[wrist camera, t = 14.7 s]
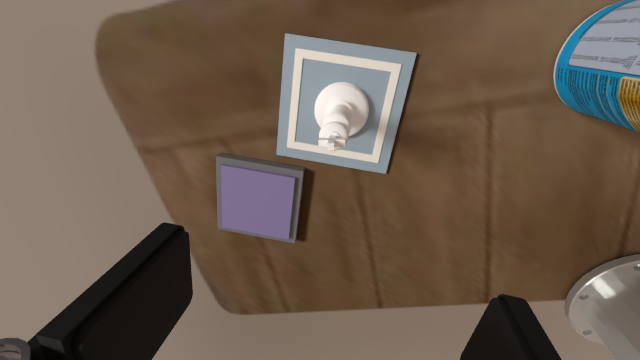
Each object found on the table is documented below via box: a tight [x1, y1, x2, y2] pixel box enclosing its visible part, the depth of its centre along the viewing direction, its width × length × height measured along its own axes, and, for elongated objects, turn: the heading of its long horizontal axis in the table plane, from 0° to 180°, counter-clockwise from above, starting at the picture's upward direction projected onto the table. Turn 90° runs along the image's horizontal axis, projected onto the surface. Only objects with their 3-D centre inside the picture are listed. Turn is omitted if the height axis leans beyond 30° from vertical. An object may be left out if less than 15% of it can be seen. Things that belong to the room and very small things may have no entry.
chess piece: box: [314, 82, 369, 151], centre depth 23 cm, size 5×5×10 cm
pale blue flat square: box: [276, 33, 417, 174], centre depth 27 cm, size 11×11×1 cm
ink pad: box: [216, 153, 305, 244], centre depth 32 cm, size 9×9×1 cm
